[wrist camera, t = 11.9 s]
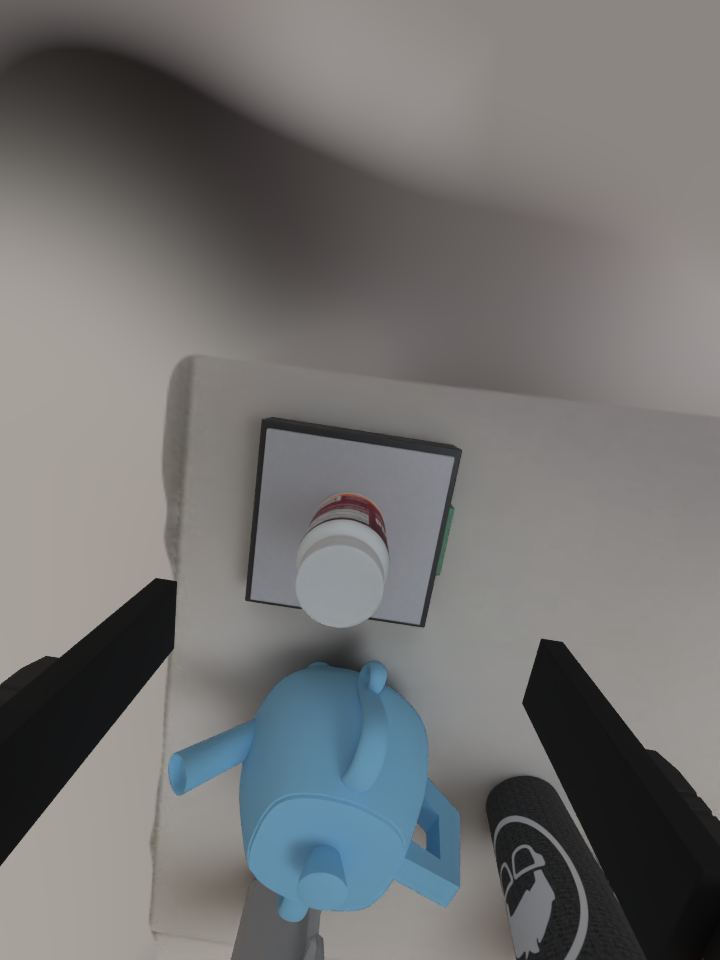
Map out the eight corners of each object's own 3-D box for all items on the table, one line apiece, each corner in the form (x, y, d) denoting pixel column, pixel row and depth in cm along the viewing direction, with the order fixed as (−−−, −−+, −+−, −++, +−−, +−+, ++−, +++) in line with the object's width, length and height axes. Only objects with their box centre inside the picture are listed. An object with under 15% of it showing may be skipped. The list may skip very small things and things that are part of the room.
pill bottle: (383, 560, 25) (391, 638, 17) (313, 557, 25) (286, 634, 17) (386, 491, 24) (395, 539, 16) (313, 489, 24) (284, 536, 16)
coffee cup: (482, 855, 34) (566, 1196, 20) (456, 775, 32) (527, 1087, 18) (586, 834, 33) (756, 1174, 19) (565, 750, 32) (736, 1056, 17)
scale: (271, 417, 26) (259, 419, 23) (459, 446, 26) (470, 451, 23) (255, 584, 29) (242, 604, 26) (424, 609, 29) (431, 633, 26)
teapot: (484, 672, 30) (555, 843, 19) (402, 818, 34) (419, 1038, 22) (251, 584, 29) (173, 707, 17) (191, 745, 32) (92, 936, 21)
